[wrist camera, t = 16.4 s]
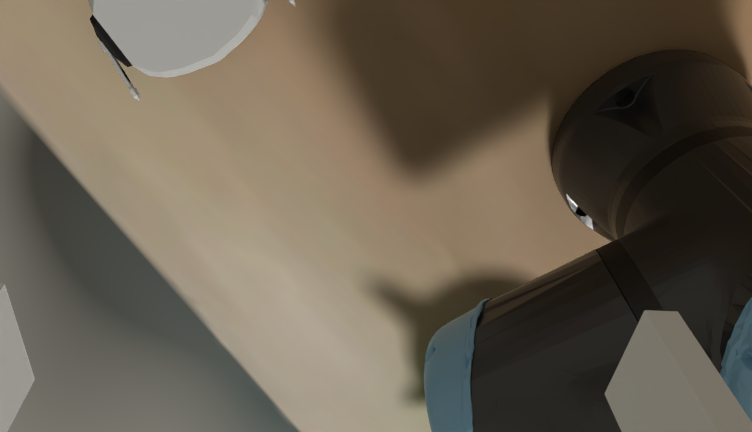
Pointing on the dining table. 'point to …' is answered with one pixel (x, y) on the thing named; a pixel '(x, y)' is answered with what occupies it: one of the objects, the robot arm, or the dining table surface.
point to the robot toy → (172, 32)
